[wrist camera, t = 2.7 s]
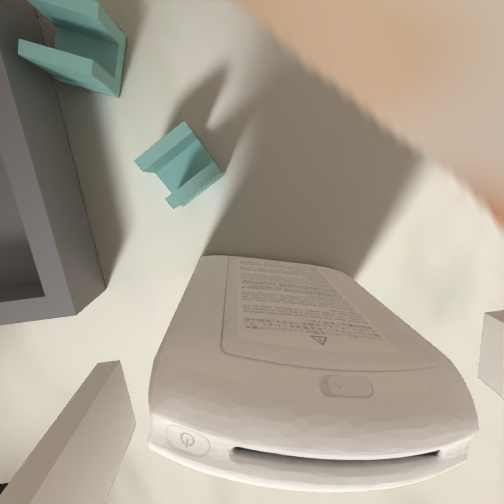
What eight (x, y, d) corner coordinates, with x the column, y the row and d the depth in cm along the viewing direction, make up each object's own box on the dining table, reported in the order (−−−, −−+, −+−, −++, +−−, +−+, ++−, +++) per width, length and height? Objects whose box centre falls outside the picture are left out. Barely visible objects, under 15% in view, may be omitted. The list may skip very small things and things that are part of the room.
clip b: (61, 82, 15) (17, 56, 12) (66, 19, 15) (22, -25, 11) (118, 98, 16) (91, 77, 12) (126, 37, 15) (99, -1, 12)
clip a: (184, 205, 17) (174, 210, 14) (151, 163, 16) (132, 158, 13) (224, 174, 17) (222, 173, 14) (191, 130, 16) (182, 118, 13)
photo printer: (187, 310, 19) (111, 533, 7) (192, 247, 18) (116, 380, 6) (336, 323, 20) (496, 538, 8) (349, 264, 19) (554, 407, 7)
